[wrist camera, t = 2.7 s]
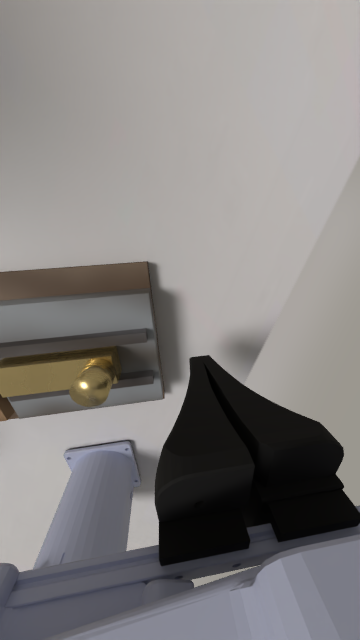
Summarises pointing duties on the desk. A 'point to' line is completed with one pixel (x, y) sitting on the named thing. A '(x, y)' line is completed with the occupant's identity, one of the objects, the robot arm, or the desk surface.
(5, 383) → the bolt
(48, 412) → the door mockup
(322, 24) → the desk surface
